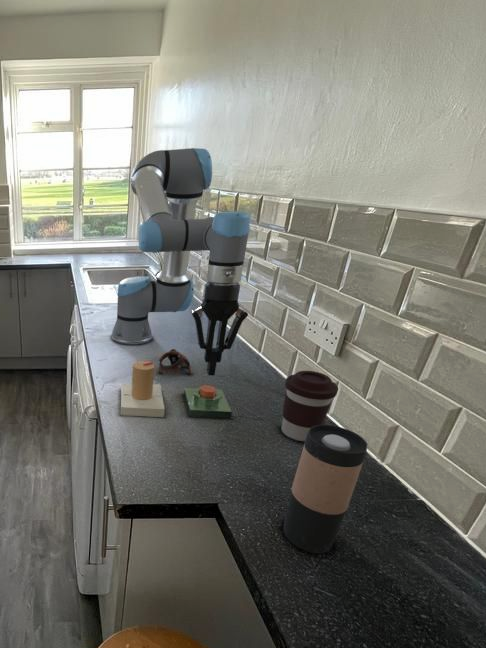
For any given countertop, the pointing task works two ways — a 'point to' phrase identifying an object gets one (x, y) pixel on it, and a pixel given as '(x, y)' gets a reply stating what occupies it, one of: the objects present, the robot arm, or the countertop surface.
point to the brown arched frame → (174, 362)
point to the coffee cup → (306, 402)
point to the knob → (142, 380)
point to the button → (207, 391)
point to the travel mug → (323, 486)
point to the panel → (142, 402)
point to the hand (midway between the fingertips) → (210, 373)
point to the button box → (206, 404)
